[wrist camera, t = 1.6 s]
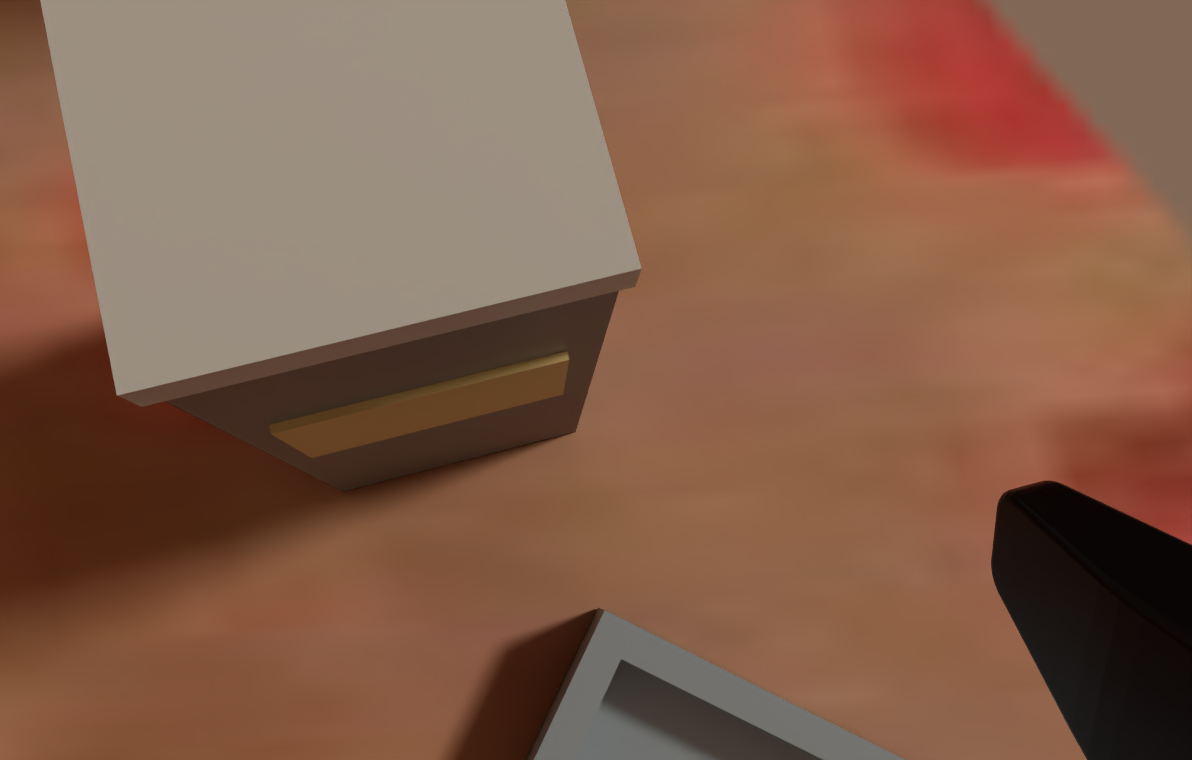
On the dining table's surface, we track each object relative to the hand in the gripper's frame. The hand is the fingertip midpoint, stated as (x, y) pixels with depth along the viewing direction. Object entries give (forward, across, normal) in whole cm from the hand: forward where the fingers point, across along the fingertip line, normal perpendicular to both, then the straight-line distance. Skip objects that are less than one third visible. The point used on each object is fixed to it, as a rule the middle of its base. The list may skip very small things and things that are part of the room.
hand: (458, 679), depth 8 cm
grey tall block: (+12, 0, +5) cm, 13 cm away
